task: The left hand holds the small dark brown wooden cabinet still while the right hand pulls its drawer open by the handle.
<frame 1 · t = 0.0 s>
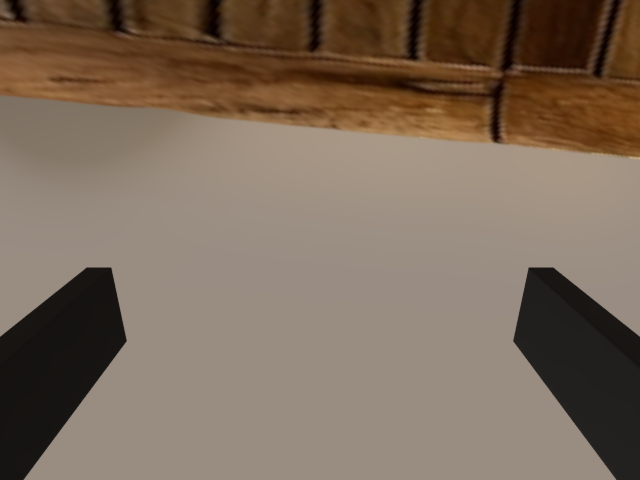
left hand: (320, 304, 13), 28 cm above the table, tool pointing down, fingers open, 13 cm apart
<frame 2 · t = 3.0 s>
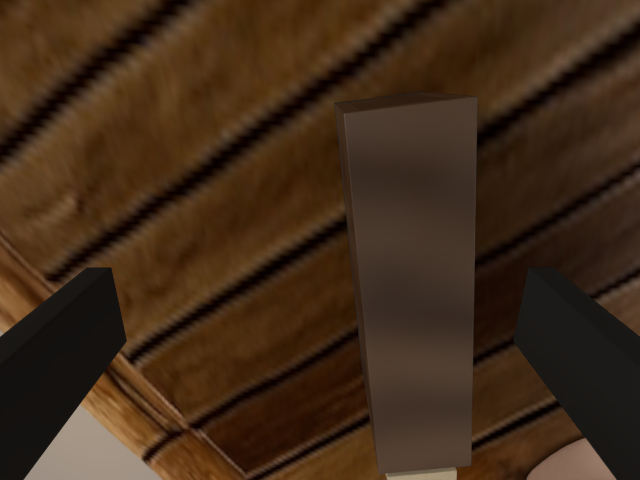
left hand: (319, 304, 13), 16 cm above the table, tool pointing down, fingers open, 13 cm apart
drawer: (405, 361, 28), point 5 cm above the table, slide at 1.5 cm
anatomical model: (598, 476, 38), on the table
cabinet: (388, 250, 30), on the table
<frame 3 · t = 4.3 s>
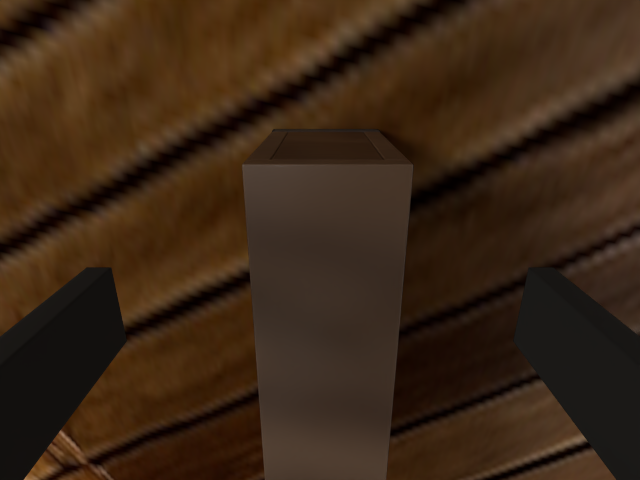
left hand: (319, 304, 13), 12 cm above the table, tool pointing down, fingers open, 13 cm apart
cabinet: (324, 300, 26), on the table
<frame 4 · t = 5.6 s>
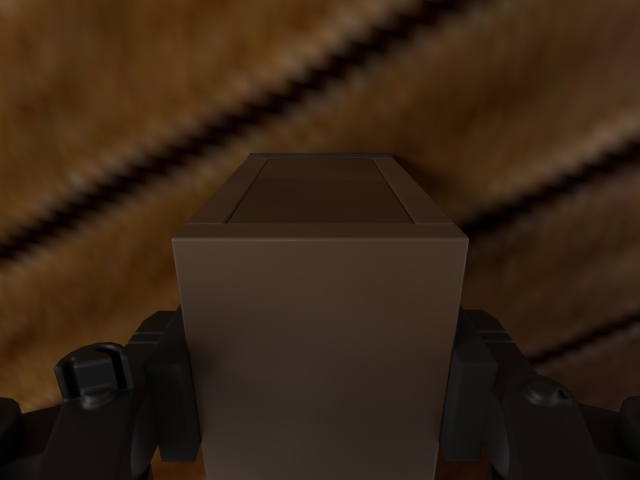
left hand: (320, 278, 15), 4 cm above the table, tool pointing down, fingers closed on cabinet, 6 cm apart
cabinet: (320, 367, 20), on the table, touching left hand
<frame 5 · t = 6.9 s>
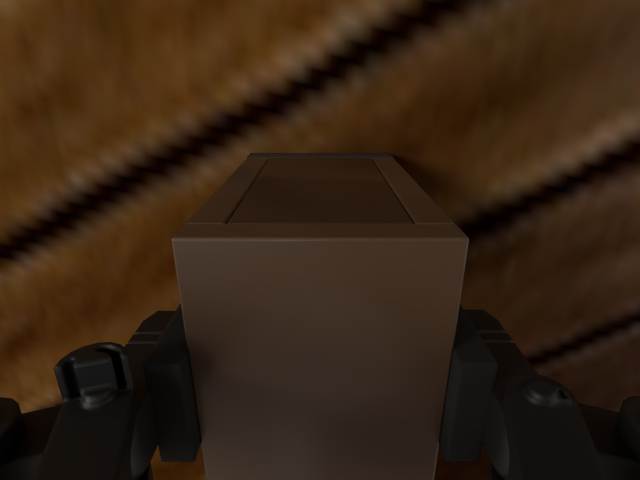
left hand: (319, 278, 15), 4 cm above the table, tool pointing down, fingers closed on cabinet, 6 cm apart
cabinet: (320, 367, 20), on the table, touching left hand
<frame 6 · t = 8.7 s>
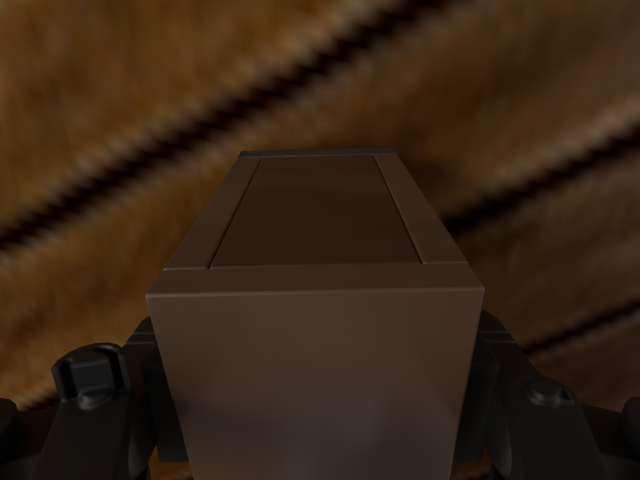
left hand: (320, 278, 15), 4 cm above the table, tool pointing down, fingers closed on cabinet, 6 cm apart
cabinet: (323, 365, 20), point 1 cm above the table, touching left hand
when the left hand's fingers open (4 cm above the table, at t = 10.1 s): cabinet stays where it is, on the table.
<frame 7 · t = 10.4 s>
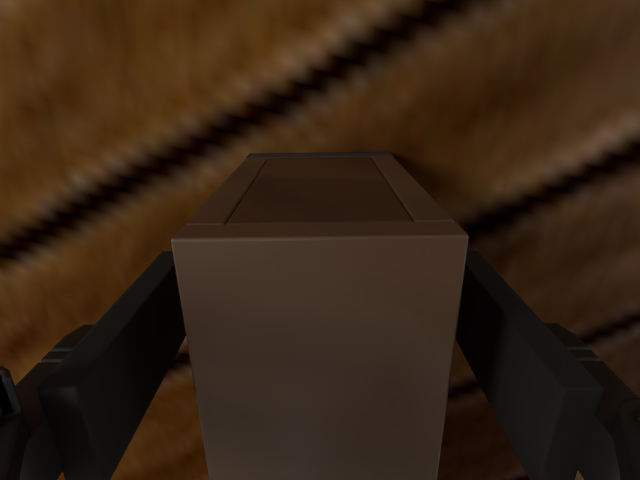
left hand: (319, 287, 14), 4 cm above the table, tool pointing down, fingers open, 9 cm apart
cabinet: (322, 367, 20), on the table
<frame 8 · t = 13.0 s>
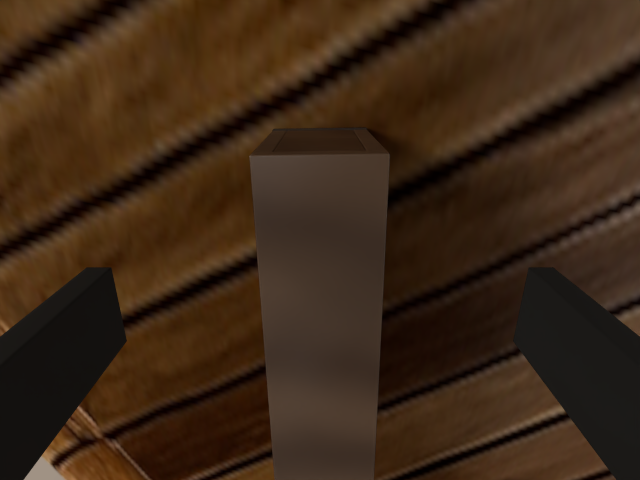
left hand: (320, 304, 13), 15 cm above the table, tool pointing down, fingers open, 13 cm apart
cabinet: (321, 282, 29), on the table
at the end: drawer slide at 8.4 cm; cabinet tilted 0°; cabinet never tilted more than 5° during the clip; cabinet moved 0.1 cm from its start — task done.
